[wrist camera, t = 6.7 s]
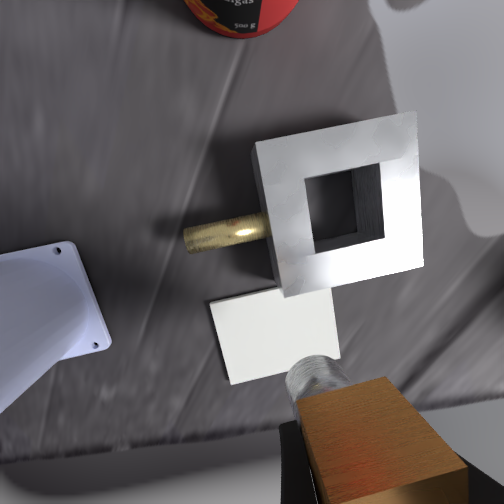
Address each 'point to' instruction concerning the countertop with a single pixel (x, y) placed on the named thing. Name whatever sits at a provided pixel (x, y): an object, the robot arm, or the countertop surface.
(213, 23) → the canned food
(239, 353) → the mat
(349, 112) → the countertop surface
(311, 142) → the hollow block with rod
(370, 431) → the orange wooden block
